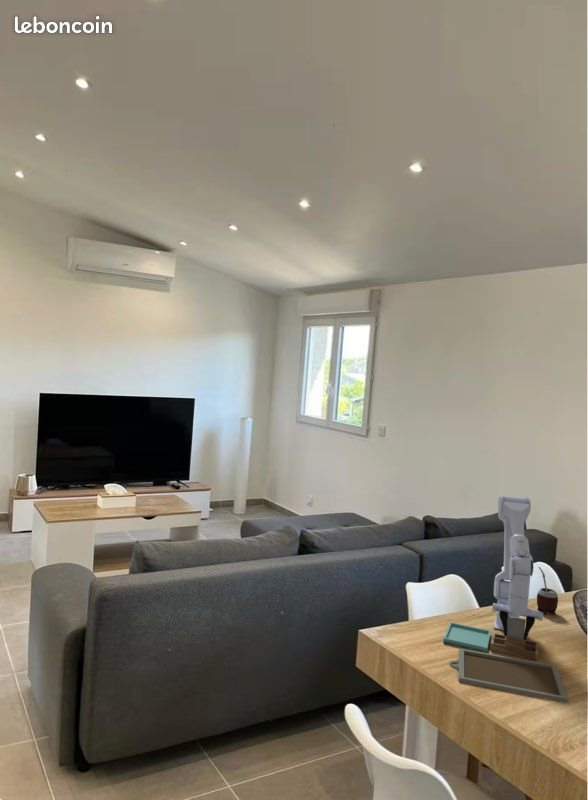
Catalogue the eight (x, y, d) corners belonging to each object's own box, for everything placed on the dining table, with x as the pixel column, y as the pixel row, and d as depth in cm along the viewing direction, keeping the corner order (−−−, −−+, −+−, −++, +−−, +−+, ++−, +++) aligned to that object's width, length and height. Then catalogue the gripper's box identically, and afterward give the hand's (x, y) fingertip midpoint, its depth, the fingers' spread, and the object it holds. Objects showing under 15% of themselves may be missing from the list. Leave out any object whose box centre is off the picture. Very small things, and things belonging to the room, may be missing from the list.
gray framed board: (568, 698, 153) (448, 675, 162) (567, 704, 154) (448, 681, 162) (556, 665, 172) (449, 646, 180) (556, 670, 172) (449, 651, 180)
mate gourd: (555, 617, 211) (558, 576, 211) (531, 611, 215) (535, 571, 215) (558, 611, 218) (561, 571, 217) (535, 605, 222) (538, 566, 221)
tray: (449, 626, 197) (450, 621, 197) (490, 635, 192) (491, 630, 192) (443, 642, 184) (443, 638, 184) (486, 652, 179) (487, 647, 179)
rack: (492, 639, 189) (492, 632, 189) (538, 649, 184) (538, 642, 184) (490, 650, 182) (490, 643, 181) (537, 660, 176) (538, 653, 176)
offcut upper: (504, 642, 184) (505, 635, 184) (525, 646, 182) (525, 640, 182) (504, 645, 181) (504, 639, 181) (525, 650, 179) (525, 644, 179)
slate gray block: (506, 643, 187) (508, 615, 186) (523, 647, 185) (525, 619, 185) (505, 646, 185) (508, 617, 185) (522, 650, 183) (525, 621, 183)
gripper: (493, 594, 183) (489, 637, 184) (544, 603, 178) (540, 648, 178) (494, 587, 190) (491, 628, 190) (543, 596, 184) (540, 639, 185)
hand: (515, 637), depth 185 cm, fingers closed on slate gray block, 5 cm apart
